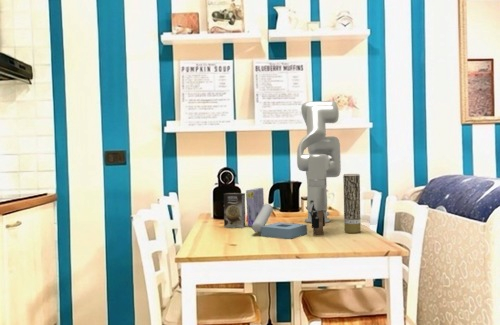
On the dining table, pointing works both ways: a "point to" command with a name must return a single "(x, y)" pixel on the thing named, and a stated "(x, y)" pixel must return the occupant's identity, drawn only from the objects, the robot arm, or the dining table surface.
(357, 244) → the dining table surface
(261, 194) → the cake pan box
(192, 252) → the dining table surface
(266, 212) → the tube
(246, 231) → the dining table surface
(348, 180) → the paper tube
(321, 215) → the peg
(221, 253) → the dining table surface
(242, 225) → the coffee box
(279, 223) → the socket
